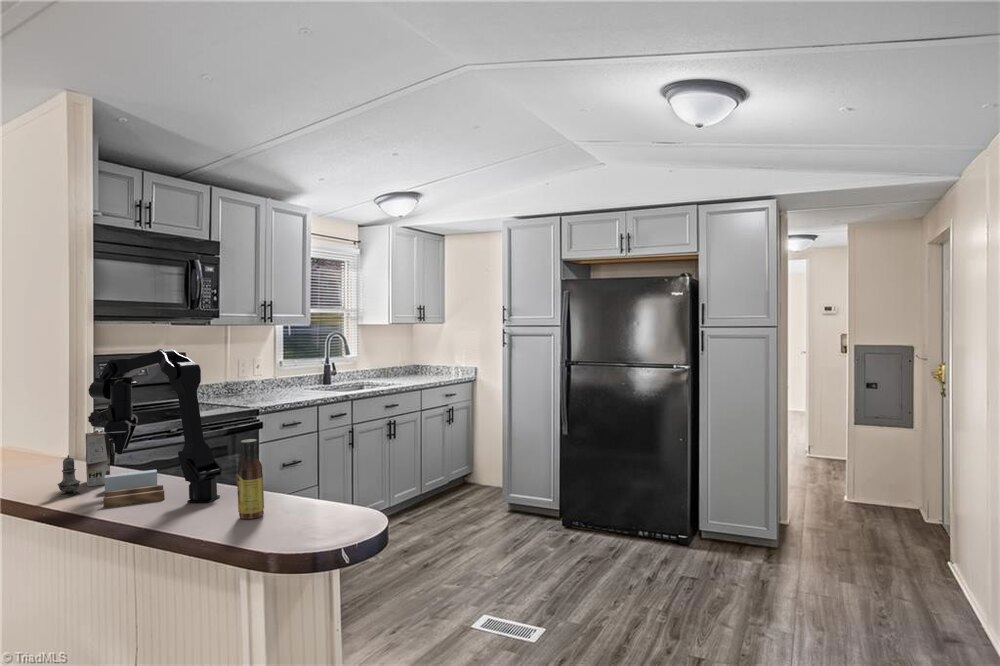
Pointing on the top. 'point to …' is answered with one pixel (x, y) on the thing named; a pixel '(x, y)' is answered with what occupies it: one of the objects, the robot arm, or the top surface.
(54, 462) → the top surface
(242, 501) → the sauce bottle
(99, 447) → the coffee box
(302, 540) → the top surface
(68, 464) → the salt shaker
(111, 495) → the cradle
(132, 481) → the pale grey-blue bar
